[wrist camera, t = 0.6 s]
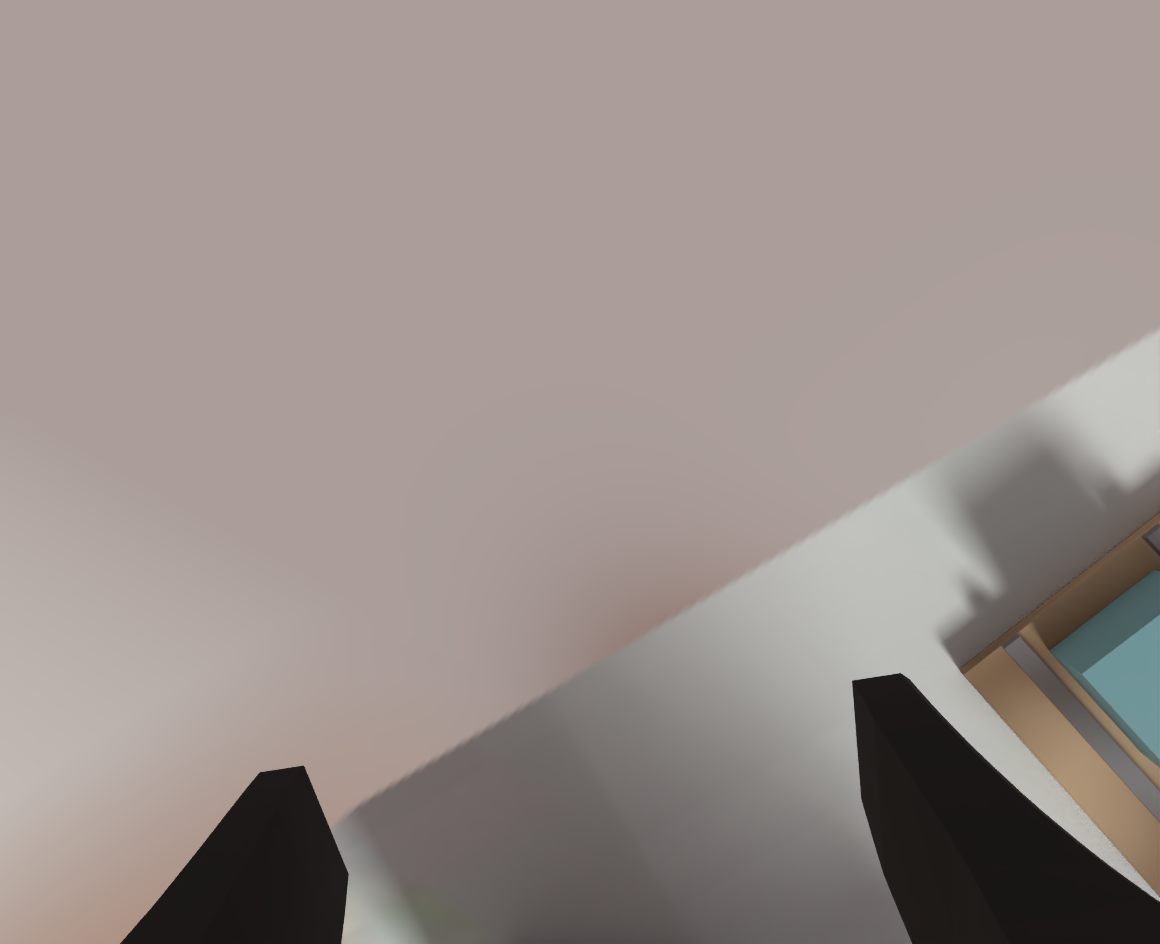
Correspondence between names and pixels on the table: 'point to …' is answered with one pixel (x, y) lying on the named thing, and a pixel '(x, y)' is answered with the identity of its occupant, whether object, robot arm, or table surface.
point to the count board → (1080, 705)
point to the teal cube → (1122, 662)
